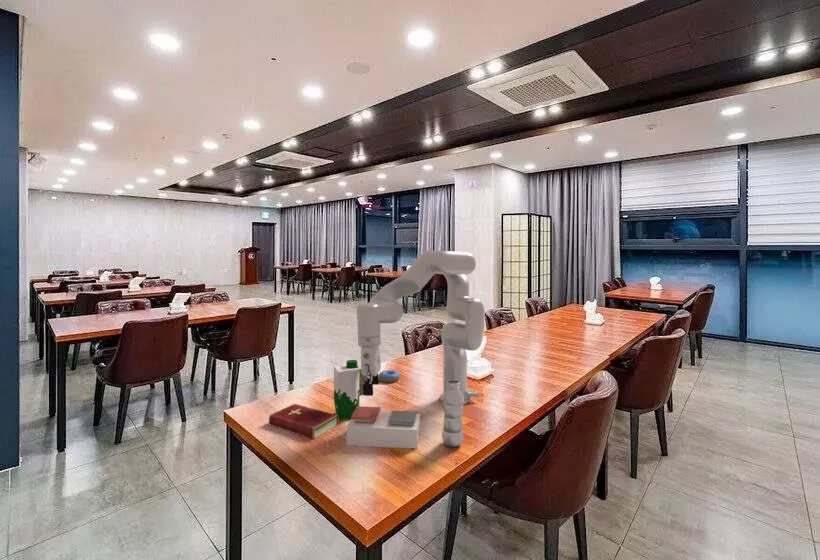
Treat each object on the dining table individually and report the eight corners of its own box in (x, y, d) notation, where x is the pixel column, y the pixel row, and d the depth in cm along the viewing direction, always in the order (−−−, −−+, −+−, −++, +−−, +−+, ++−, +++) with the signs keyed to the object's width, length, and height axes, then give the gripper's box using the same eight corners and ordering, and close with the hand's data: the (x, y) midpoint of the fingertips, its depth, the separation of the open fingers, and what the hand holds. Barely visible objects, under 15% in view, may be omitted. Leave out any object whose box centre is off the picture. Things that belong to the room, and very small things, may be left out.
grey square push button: (416, 430, 128) (416, 411, 128) (414, 442, 120) (414, 422, 120) (392, 429, 129) (392, 410, 129) (388, 441, 121) (388, 421, 121)
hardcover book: (313, 440, 124) (313, 428, 124) (269, 426, 135) (268, 414, 135) (338, 426, 135) (337, 414, 134) (295, 413, 145) (294, 402, 145)
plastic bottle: (440, 439, 124) (440, 378, 122) (461, 438, 124) (461, 378, 123) (443, 450, 118) (444, 385, 116) (465, 449, 118) (466, 385, 117)
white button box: (420, 430, 130) (419, 413, 130) (416, 448, 118) (416, 429, 118) (356, 427, 132) (355, 410, 132) (346, 445, 121) (346, 426, 120)
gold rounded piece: (367, 395, 162) (367, 372, 162) (350, 394, 164) (350, 371, 163) (372, 389, 170) (372, 367, 169) (356, 388, 171) (356, 366, 170)
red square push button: (380, 426, 129) (380, 407, 129) (376, 437, 121) (376, 417, 121) (357, 425, 130) (357, 406, 130) (351, 436, 122) (351, 416, 122)
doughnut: (404, 380, 180) (403, 370, 180) (385, 385, 175) (384, 375, 175) (393, 376, 189) (392, 367, 189) (375, 381, 183) (374, 372, 183)
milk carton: (362, 417, 141) (361, 363, 139) (337, 421, 137) (336, 366, 136) (355, 408, 149) (355, 357, 147) (332, 412, 145) (331, 360, 144)
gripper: (375, 347, 120) (377, 400, 121) (384, 333, 137) (386, 380, 139) (351, 347, 121) (354, 399, 122) (364, 334, 138) (366, 380, 139)
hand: (371, 389), depth 130 cm, fingers open, 9 cm apart
